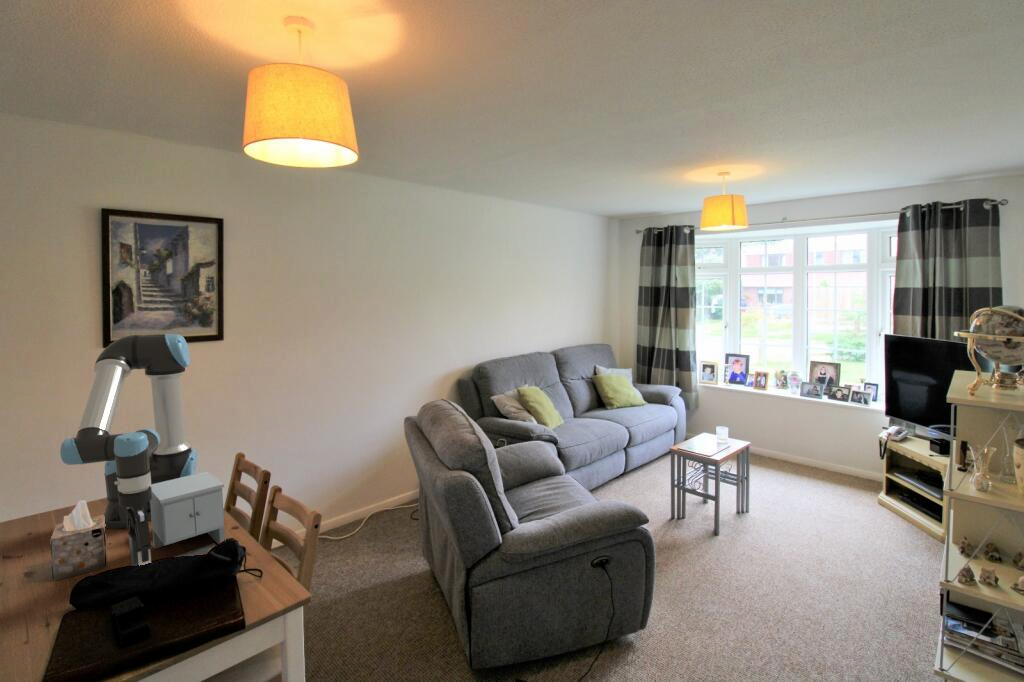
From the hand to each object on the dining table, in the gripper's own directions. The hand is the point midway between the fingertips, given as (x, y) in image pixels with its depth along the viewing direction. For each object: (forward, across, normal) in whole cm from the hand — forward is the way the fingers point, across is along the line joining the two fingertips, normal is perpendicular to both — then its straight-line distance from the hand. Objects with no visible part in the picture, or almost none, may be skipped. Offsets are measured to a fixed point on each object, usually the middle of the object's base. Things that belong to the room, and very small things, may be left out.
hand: (140, 563), depth 145 cm
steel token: (+3, +4, +14) cm, 15 cm away
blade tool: (+3, 0, +9) cm, 9 cm away
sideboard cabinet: (+3, -8, +14) cm, 16 cm away
